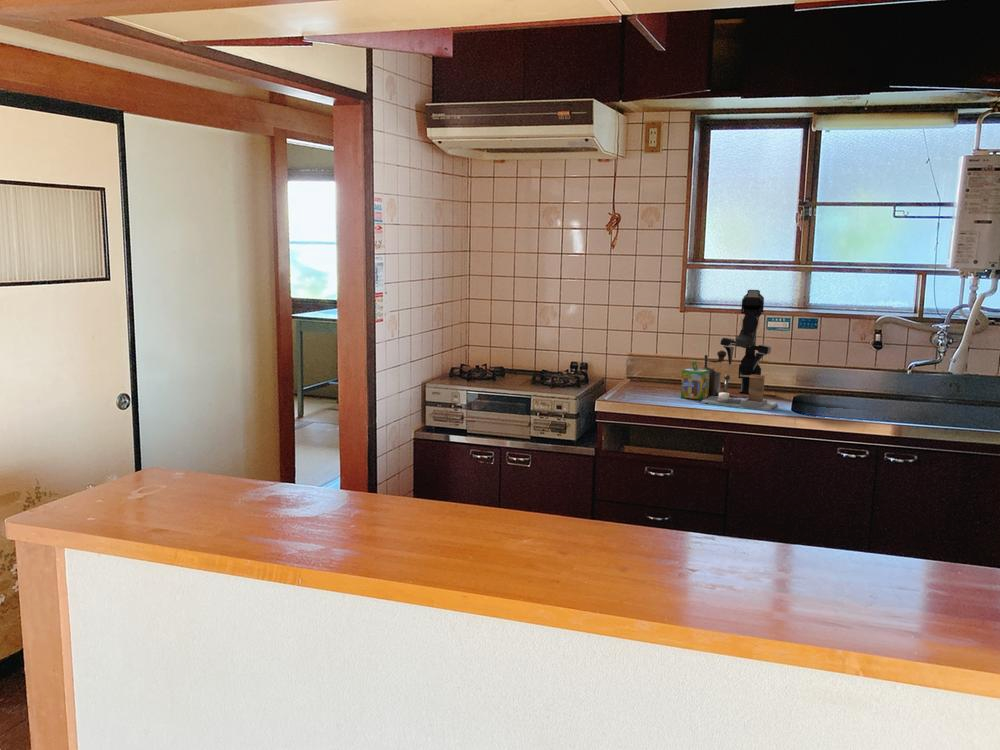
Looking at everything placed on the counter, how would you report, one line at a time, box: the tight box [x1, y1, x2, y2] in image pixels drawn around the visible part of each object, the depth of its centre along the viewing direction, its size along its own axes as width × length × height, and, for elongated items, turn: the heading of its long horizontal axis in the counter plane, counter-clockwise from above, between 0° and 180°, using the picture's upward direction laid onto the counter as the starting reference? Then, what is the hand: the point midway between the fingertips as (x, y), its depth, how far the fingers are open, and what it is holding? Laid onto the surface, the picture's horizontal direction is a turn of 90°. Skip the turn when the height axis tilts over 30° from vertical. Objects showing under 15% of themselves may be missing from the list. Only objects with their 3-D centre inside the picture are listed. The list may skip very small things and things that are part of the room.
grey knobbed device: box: [699, 350, 727, 396], centre depth 358 cm, size 16×11×18 cm
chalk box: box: [680, 361, 710, 401], centre depth 347 cm, size 9×9×15 cm
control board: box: [700, 391, 778, 412], centre depth 334 cm, size 14×26×4 cm, turn 60°
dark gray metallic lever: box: [722, 374, 731, 393], centre depth 340 cm, size 2×2×8 cm
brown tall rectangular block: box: [747, 374, 766, 403], centre depth 332 cm, size 3×5×11 cm, turn 60°
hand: (741, 367), depth 337 cm, fingers open, 9 cm apart
